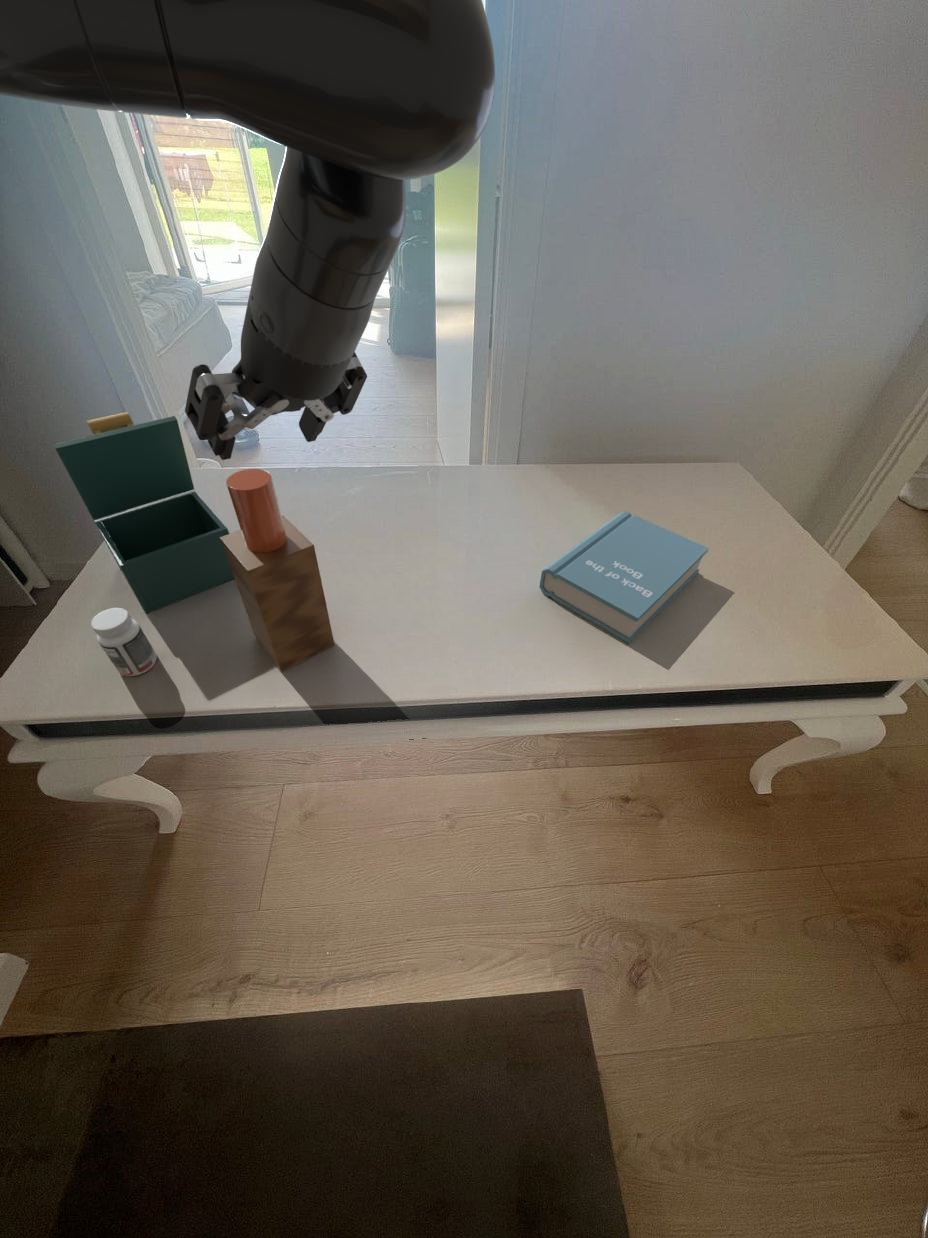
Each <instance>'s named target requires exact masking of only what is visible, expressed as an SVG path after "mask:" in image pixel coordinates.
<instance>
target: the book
mask: <svg viewBox="0 0 928 1238" xmlns="http://www.w3.org/2000/svg"><path fill="white" fill-rule="evenodd" d="M709 549H710V548H709V547H707V546H705V545H703V544H700V543H698V542H696V541H694V540H692V539H689V538H687V537H685V536H683V535H680V534H679V533H676V532H674V531H671V530H670V529H666V528H664V527H662V526H660V525H658V524H655V523H654V522H651V521H649V520H647V519H644V518H642V517H640V516H637V515H635V514H634V515H632V514H631V512H628V511H627V510H625V511H622V512H620V513H618V514H616V515H615V516H614V517H613V518H611V519H610V520H608V521H607V522H606V523H605V524H603V525H602V526H601V527H599V528H598V529H597V530H595V531H594V532H592V533H590V534H589V535H588V536H587V537H585V538H584V539H583V540H582V541H580V542H579V543H578V544H576V545H575V546H573V547H571V549H570V550H568V551H567V552H565V553H564V554H563V555H561V556H560V557H558V558H557V559H556V560H554V561H553V562H552V563H551V564H549V565H548V566H546V567H545V568H544V569H542V570H541V575H540V581H539V586H538V587H539V589H540V591H541V592H542V594H543V595H544V596H546V597H547V598H549V597H550V598H551V600H552V601H554V602H556V603H558V604H560V605H561V606H563V607H565V608H567V609H569V610H570V611H572V612H573V613H576V614H577V615H578V616H580V617H582V618H584V619H586V620H587V621H589V622H591V623H592V624H594V625H596V626H597V627H599V628H601V629H603V630H605V631H606V632H608V633H609V634H611V635H613V636H615V637H616V638H618V639H620V640H622V641H623V642H626V643H627V644H630V643H631V642H632V641H633V640H634V639H635V638H636V637H637V636H638V635H639V634H640V633H641V632H642V631H643V630H644V629H645V628H646V627H647V626H648V625H649V624H650V623H651V622H652V621H653V620H654V618H656V616H658V614H660V612H661V611H663V610H664V608H666V607H667V605H669V604H670V603H671V601H673V600H674V599H675V597H676V596H677V595H678V594H679V593H680V592H681V591H683V589H684V588H685V587H686V586H687V585H688V584H689V583H690V582H691V581H692V580H693V579H694V578H695V577H696V576H697V575H698V574H699V572H700V570H701V569H700V568H699V566H700V564H701V562H702V559H703V557H705V555H706V554H707V553H708V552H709Z"/></svg>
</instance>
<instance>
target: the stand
mask: <svg viewBox="0 0 928 1238" xmlns="http://www.w3.org/2000/svg"><path fill="white" fill-rule="evenodd" d="M281 516H282V520H283V524H284V528H285V532H286V537H287V540H286V543H285V544H284V545H283V546H282V547H280V548H279V549H277V550H274V551H271V552H265V553H259V552H254V551H251V550H250V549H248V548H247V546H246V544H245V541H244V538H243V534H242V531H241V529H239V530H237V531H234V532H231V533H229V534H228V535H225V536H222V537H220V540H221V543H222V546H223V549H224V551H225V554H226V557H227V560H228V563H229V565H230V568H231V571H232V574H233V577H234V579H233V580H234V583H235V585H236V587H237V591H238V593H239V596H240V598H241V602H242V604H243V607H244V610H245V613H246V616H247V619H248V621H249V624H250V627H251V629H252V632H253V635H254V638H255V640H256V641H257V642H258V643H259V645H260V646H261V647H262V649H263V650H264V652H265V653H266V654H267V655H268V657H269V658H270V660H271V661H272V662H273V664H274V665H275V666H276V668H277V669H278V671H279V672H280V673H283V672H284V671H286V670H289V669H291V668H292V667H294V666H296V665H298V664H300V663H303V662H304V661H306V660H308V659H310V658H312V657H313V656H316V655H317V654H320V653H322V652H324V651H326V650H328V649H329V648H331V647H333V646H335V640H334V634H333V631H332V624H331V620H330V615H329V611H328V606H327V602H326V601H327V600H326V596H325V591H324V585H323V582H322V576H321V571H320V567H319V562H318V559H317V553H316V547H315V544H314V543H312V541H311V540H310V539H308V538H307V537H306V536H305V535H304V534H303V533H302V532H301V530H299V529H298V528H297V526H295V525H294V524H293V523H292V522H291V521H290V520H289V519H288V518H287V517H286V516H285V515H284V514H281Z"/></svg>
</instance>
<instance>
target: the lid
mask: <svg viewBox="0 0 928 1238" xmlns="http://www.w3.org/2000/svg"><path fill="white" fill-rule="evenodd" d="M86 423H87V426H88V428H89V430H90V432H91V434H92V435H87V436H83V437H78V438H73V439H69V440H66V441H60V442H56V443H53V444H52V445H53V447H54V450H55V451H56V453H57V455H58V457H59V458H60V461H61V462H62V464H63V466H64V468H65V470H66V472H67V473H68V476H69V477H70V479H71V482H72V483H73V485H74V487H75V489H76V490H77V492H78V494H79V496H80V498H81V500H82V501H83V503H84V505H85V507H86V509H87V512H88V513H89V515H90V516H91V519H92V520H93V521H95V520H99V519H102V518H105V517H109V516H112V515H115V514H119V513H122V512H125V511H128V510H132V509H135V508H138V507H141V506H145V505H148V504H151V503H155V502H158V501H161V500H164V499H168V498H171V497H174V496H178V495H181V494H184V493H187V492H190V491H195V486H194V482H193V478H192V474H191V469H190V466H189V462H188V457H187V453H186V450H185V445H184V443H183V437H182V433H181V430H180V426H179V422H178V419H177V417H176V415H171V416H168V417H164V418H163V417H162V418H160V419H155V420H151V421H147V422H143V423H138V424H134V421H133V419H132V416H131V415H130V414H129V412H128V411H125V412H120V413H116V414H112V415H107V416H103V417H102V416H101V417H97V418H93V419H88V420H86Z"/></svg>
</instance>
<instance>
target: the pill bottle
mask: <svg viewBox="0 0 928 1238" xmlns="http://www.w3.org/2000/svg"><path fill="white" fill-rule="evenodd" d="M90 626H91V628H92V630H93V631H94V633H95V634H96V641H97V642H98V644H99V645H100V647H101V648H102V650H103V651H104V652H105V654H106V655H107V657H108V659H109V660H110V662H111V664H113V666H114V667H115V669H116V670H117V671H118V673H119V674H120V675H122V676H125V677H134V676H139V675H143V674H144V673H146V672H148V671H149V670H151V668H153V667H154V665H155V664H156V661H157V658H158V657H157V653H156V651H155V649H154V647H153V646H152V645H151V643H150V641H149V640H148V638H147V636H146V635H145V633H144V631H143V629H142V628H141V626H140V624H139V623H138V622H137V620H135V619H133V618H132V617H131V616H130V614H129V612H128V611H127V610H126V609H125V608H121V607H110V608H107V609H104V610H102V611H100V612H98V613H97V614H96V615H94V616H93V618H92V619H91V621H90Z"/></svg>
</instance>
